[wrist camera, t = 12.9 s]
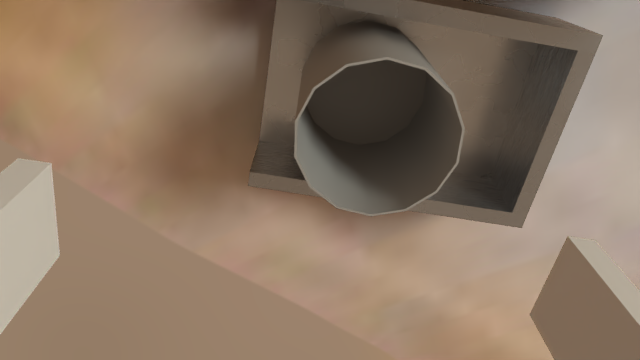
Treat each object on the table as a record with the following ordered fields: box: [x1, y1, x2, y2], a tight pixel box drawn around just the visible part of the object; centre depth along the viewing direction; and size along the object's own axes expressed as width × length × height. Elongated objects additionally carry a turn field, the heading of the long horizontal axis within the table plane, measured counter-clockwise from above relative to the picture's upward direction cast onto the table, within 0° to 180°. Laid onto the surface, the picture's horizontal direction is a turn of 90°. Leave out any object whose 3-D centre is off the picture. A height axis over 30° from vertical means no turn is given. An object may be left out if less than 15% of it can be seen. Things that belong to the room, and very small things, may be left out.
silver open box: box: [248, 0, 603, 228], centre depth 32 cm, size 18×12×6 cm
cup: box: [294, 20, 465, 216], centre depth 29 cm, size 8×8×10 cm
